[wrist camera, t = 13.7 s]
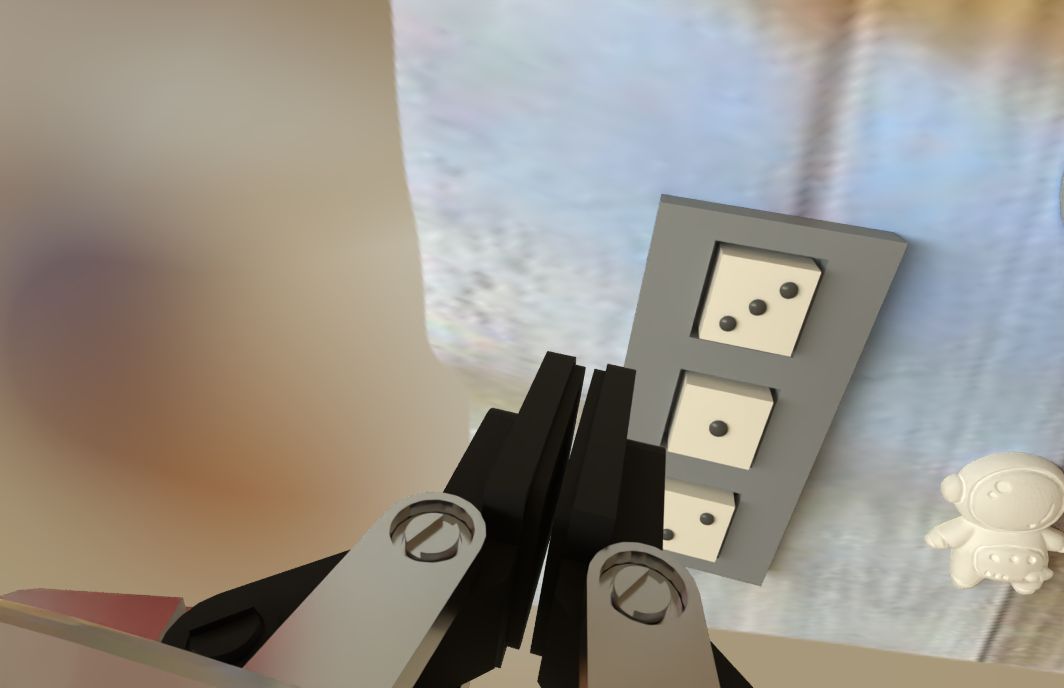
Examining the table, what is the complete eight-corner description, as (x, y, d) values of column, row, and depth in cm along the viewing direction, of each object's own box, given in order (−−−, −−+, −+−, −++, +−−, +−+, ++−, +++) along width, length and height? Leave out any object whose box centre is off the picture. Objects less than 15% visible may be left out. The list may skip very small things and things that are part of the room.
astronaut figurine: (910, 571, 45) (925, 603, 42) (950, 443, 40) (969, 470, 37) (1041, 587, 43) (1066, 622, 40) (1100, 455, 38) (1132, 484, 35)
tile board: (893, 232, 35) (908, 243, 32) (757, 562, 47) (760, 586, 45) (661, 194, 37) (660, 201, 35) (590, 519, 49) (586, 540, 47)
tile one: (767, 380, 40) (773, 403, 37) (744, 445, 42) (749, 471, 40) (686, 363, 41) (686, 385, 38) (668, 427, 43) (667, 452, 40)
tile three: (810, 257, 36) (822, 273, 33) (782, 336, 38) (790, 358, 36) (719, 241, 37) (723, 255, 34) (697, 320, 39) (699, 339, 36)
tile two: (731, 480, 44) (735, 509, 41) (712, 534, 46) (714, 564, 44) (658, 463, 45) (657, 489, 42) (643, 517, 47) (641, 545, 45)
